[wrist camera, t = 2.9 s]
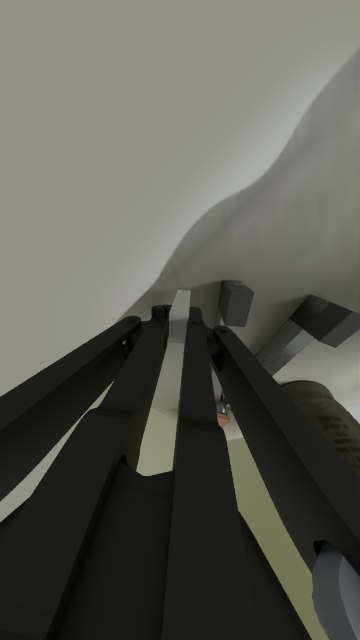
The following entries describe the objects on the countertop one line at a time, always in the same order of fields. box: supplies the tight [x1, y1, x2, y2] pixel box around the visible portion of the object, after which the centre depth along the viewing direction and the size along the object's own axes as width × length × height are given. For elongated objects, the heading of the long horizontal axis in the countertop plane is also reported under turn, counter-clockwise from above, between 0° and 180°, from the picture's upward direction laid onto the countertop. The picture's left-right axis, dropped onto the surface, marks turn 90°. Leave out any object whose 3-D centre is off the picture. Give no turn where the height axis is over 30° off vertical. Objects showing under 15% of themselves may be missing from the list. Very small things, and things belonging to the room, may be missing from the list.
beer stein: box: [281, 381, 360, 478], centre depth 20 cm, size 15×11×20 cm
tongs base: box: [216, 294, 360, 416], centre depth 23 cm, size 32×5×6 cm, turn 161°
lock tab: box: [217, 413, 230, 427], centre depth 26 cm, size 8×3×4 cm, turn 160°
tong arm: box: [210, 280, 254, 403], centre depth 21 cm, size 23×2×5 cm, turn 1°
